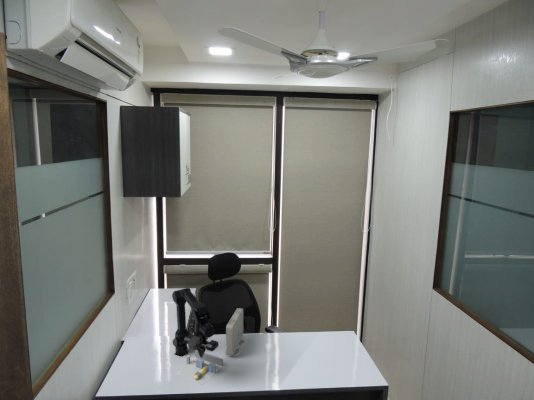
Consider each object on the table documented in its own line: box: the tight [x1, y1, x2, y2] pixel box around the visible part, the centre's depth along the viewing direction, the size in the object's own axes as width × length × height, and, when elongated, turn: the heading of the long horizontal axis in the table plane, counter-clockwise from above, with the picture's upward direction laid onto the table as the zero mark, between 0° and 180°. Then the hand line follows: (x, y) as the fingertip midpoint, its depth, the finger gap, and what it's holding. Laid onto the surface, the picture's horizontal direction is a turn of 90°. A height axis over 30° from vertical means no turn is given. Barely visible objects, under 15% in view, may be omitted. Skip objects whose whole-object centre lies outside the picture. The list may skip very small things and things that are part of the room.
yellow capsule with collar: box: [194, 366, 209, 380], centre depth 184 cm, size 11×3×2 cm, turn 153°
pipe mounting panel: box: [174, 350, 224, 386], centre depth 188 cm, size 19×18×5 cm
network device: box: [224, 307, 246, 357], centre depth 210 cm, size 26×9×20 cm, turn 170°
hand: (201, 357), depth 183 cm, fingers closed
